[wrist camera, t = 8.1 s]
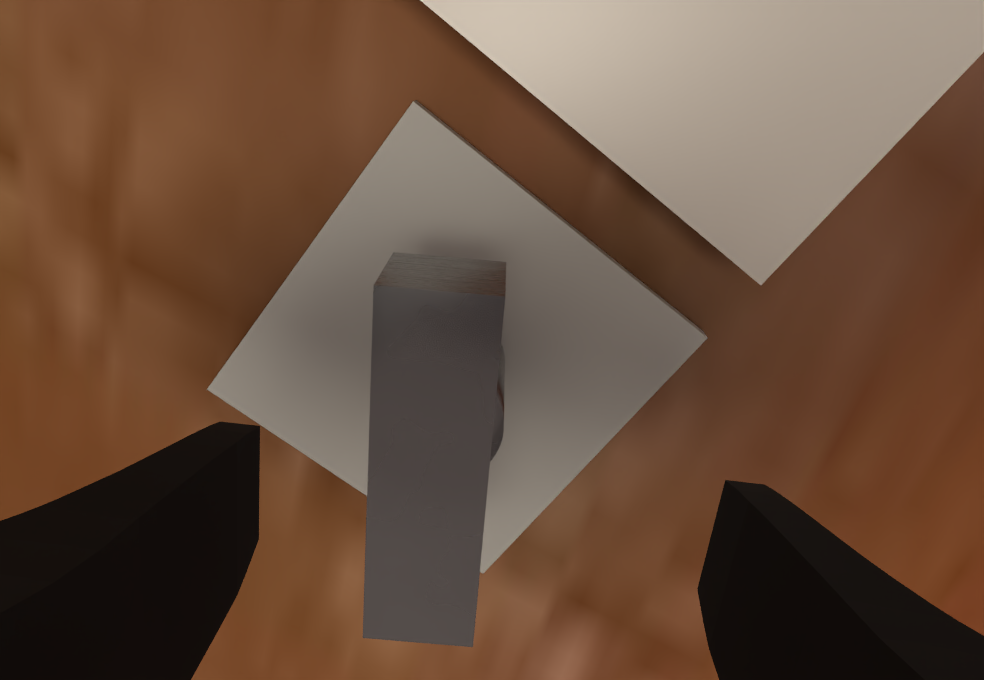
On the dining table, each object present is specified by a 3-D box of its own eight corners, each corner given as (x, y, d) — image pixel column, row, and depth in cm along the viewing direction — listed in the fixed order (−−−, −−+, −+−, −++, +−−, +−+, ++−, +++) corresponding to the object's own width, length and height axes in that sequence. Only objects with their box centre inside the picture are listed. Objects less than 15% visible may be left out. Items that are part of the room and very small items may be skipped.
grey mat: (702, 330, 21) (707, 338, 21) (483, 561, 24) (483, 573, 24) (416, 99, 20) (412, 101, 19) (214, 380, 22) (206, 389, 22)
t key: (493, 489, 23) (486, 648, 17) (392, 481, 23) (349, 636, 17) (518, 224, 20) (521, 298, 14) (403, 214, 20) (356, 284, 14)
